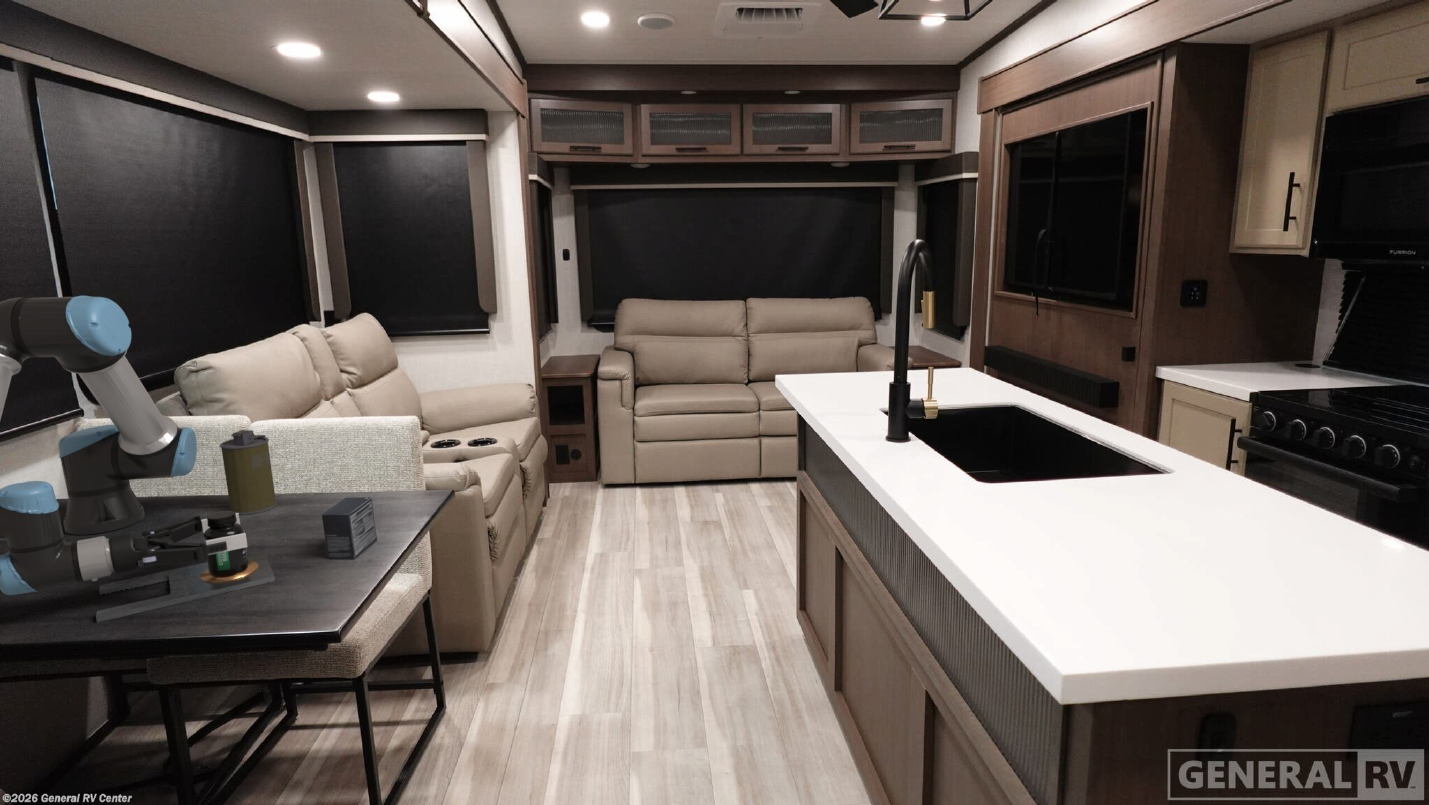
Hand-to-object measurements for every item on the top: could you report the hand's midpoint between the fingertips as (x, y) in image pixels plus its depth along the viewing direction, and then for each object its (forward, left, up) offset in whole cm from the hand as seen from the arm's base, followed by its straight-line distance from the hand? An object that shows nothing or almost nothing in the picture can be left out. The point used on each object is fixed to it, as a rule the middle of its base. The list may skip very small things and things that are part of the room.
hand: (243, 529), depth 155 cm
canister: (-25, +35, -9) cm, 44 cm away
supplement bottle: (-2, -2, -8) cm, 9 cm away
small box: (+15, +13, -10) cm, 22 cm away
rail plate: (-8, -7, -9) cm, 14 cm away
